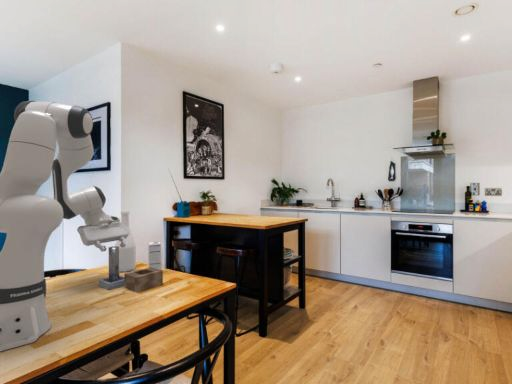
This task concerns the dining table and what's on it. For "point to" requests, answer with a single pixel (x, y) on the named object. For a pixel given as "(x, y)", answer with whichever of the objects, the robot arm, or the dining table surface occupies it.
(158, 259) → the syrup box
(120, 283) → the slate tray
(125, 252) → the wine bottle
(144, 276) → the walnut hollow rectangular frame
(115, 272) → the steel axle
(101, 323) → the dining table surface
